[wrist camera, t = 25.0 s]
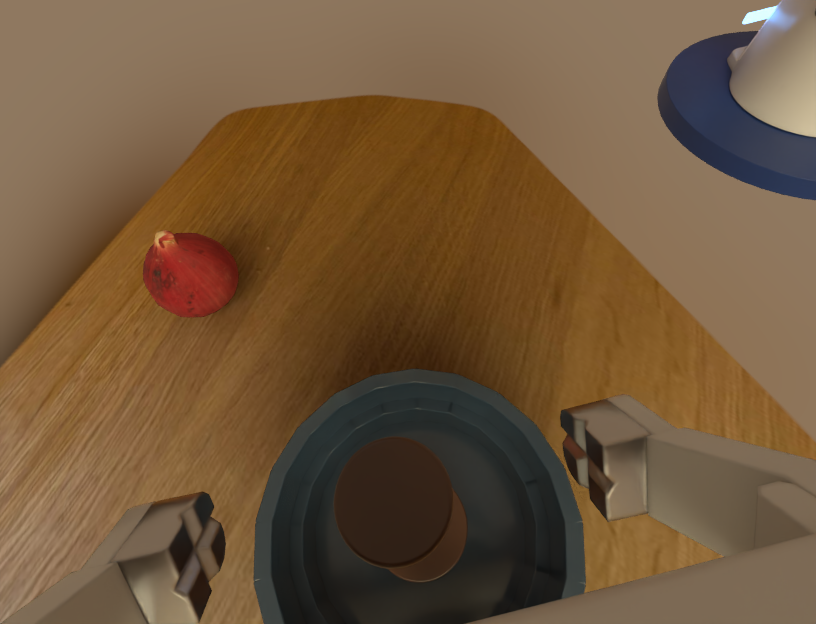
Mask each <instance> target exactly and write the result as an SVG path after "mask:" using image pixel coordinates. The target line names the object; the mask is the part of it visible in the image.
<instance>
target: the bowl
mask: <svg viewBox="0 0 816 624" xmlns="http://www.w3.org/2000/svg"><path fill="white" fill-rule="evenodd" d="M385 437H405V438H409V439H412V440H415V441H417V442H419V443H421V444H423V445H425V446H426V447H428V448H429V449H430V450H431V451H432V452H433V453H434V454H435V455H436V456H437V457H438V458H439V459H440V461H441V462H442V464H443V465H444V467H445V468H446V471H447V473H448V475H449V478H450V481H451V484H452V488H453V489H454V491H455V492H456V493H457V495H458V496H459V498H460V500H461V502H462V504H463V506H464V509H465V512H466V517H467V525H468V532H467V540H466V545H465V548H464V551H463V553H462V555H461V557H460V559H459V561H458V562H457V563H456V565H455V566H454V567H453V568H452V569H451V570H450V571H449V572H448V573H447V574H445V575H444V576H442V577H440V578H438V579H436V580H433V581H430V582H425V583H415V582H409V581H406V580H403V579H401V578H399V577H397V576H396V575H394V574H393V573H392V572H390V571H389V570H388V569H386V568H380V567H377V566H374V565H371V564H369V563H367V562H365V561H363V560H362V559H361V558H359V557H358V556H357V555H356V554H354V553H353V552H352V551H351V549H350V548H349V547H348V546H347V545H346V543H345V541H344V540H343V538H342V536H341V534H340V532H339V530H338V527H337V523H336V519H335V513H334V494H335V489H336V485H337V482H338V479H339V476H340V474H341V472H342V470H343V468H344V466H345V465H346V463H347V462H348V461H349V459H350V458H351V457H352V456H353V455H354V454H355V453H356V452H357V451H358V450H359V449H361V448H362V447H363V446H365V445H367V444H368V443H370V442H372V441H375V440H378V439H381V438H385ZM254 581H255V582H254V587H255V591H256V594H257V598H258V602H259V606H260V610H261V614H262V618H263V622H264V624H466V623H470V622H474V621H477V620H481V619H485V618H489V617H493V616H497V615H501V614H505V613H509V612H513V611H517V610H521V609H525V608H528V607H532V606H536V605H540V604H544V603H548V602H552V601H556V600H560V599H564V598H568V597H572V596H576V595H580V594H583V593H584V591H585V587H586V585H585V584H586V576H585V555H584V534H583V523H582V518H581V515H580V512H579V509H578V506H577V503H576V500H575V497H574V494H573V491H572V488H571V485H570V482H569V479H568V476H567V473H566V470H565V468H564V466H563V464H562V463H561V461H560V460H559V458H558V457H557V455H556V454H555V452H554V451H553V449H552V448H551V446H550V445H549V443H548V442H547V440H546V439H545V437H544V436H543V434H542V433H541V431H540V430H539V428H538V427H537V425H536V424H534V422H533V421H531V420H530V419H529V418H528V417H527V416H526V415H524V414H523V413H522V412H521V411H520V410H519V409H517V408H516V407H515V406H514V405H513V404H511V403H510V402H509V401H508V400H507V399H506V398H504V397H503V396H502V395H501V394H500V393H498V392H496V391H494V390H492V389H490V388H488V387H485V386H483V385H481V384H479V383H476V382H474V381H472V380H470V379H468V378H465V377H463V376H461V375H457V374H454V373H447V372H439V371H432V370H424V369H408V370H402V371H396V372H390V373H384V374H378V375H373V376H370V377H368V378H366V379H364V380H362V381H360V382H358V383H356V384H354V385H352V386H350V387H348V388H346V389H344V390H341V391H339V392H337V393H335V394H334V396H331V397H330V398H329V399H328V400H327V401H326V402H325V403H324V404H323V405H322V406H320V407H319V408H318V409H317V410H316V411H315V412H314V413H313V414H312V415H311V416H309V417H308V418H307V419H306V420H305V421H304V422H303V423H302V424H301V425H300V426H299V427H298V428H297V429H296V431H295V433H294V434H293V436H292V437H291V439H290V441H289V442H288V444H287V445H286V447H285V448H284V450H283V452H282V453H281V455H280V456H279V458H278V460H277V461H276V463H275V464H274V466H273V468H272V470H271V472H270V476H269V479H268V482H267V485H266V489H265V492H264V495H263V499H262V502H261V505H260V508H259V512H258V515H257V518H256V524H255V551H254Z"/></svg>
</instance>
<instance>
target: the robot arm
mask: <svg viewBox="0 0 816 624" xmlns="http://www.w3.org/2000/svg"><path fill="white" fill-rule="evenodd" d="M767 18H768V19H767ZM763 19H767V20H766V22H765V23H764V24H763V26H762V27H761V29H760V30H759V31H758V33H757V34H756V36H755V37H754V38H753V40H752V41H751V42H750V44H749V45H748V46H745V47H741V48H737V49H735V50H733V51H732V53H731V54H730V55H729V57H728V58H727V62H728V65H729V67H730V69H731V70H732V74H731V78H730V82H729V87H730V91H731V94H732V96H733V97H734V99H735V100H736V101H737V103H738V104H739V105H740V106H741V107H742V108H743V109H745V110H746V111H747V112H749V113H750V114H751V115H753V116H754V117H756V118H758V119H759V120H761V121H763V122H765V123H767V124H769V125H772V126H774V127H777V128H779V129H782V130H785V131H788V132H792V133H795V134H799V135H804V136H810V137H816V0H781V1H780V3H779V4H778V6H775V7H771V8H767V9H763V10H759V11H755V12H750V13H748V14H747V16H746V17H745V19H744V20H743V24H747V23H751V22H755V21H759V20H763ZM560 420H561V427H562V428H563V429H564V430H565V431H566V432H567V436H566V438H565V440H564V441H563V451H564V457H565V460H566V463H567V466H568V469H569V470H570V472H571V474H572V476H573V477H574V479H575V480H576V481H577V483H578V484H579V485H581V486H583V487H586V488H588V489H589V493H590V499H591V501H592V502H593V503H594V505H595V506H596V507H597V508H598V510H599V511H600V512H601V513H602V515H603V516H604V517H605V518H606V520H607V521H608V522H610V521H615V520H620V519H624V518H629V517H633V516H638V515H643V514H647V513H648V515H649V516H651V517H652V518H654V519H656V520H658V521H660V522H662V523H663V524H665V525H667V526H669V527H671V528H673V529H674V530H676V531H678V532H680V533H682V534H684V535H685V536H687V537H689V538H691V539H693V540H695V541H696V542H698V543H700V544H702V545H704V546H706V547H707V548H709V549H711V550H713V551H715V552H717V553H718V554H720V555H722V556H724V557H722V558H718V559H714V560H711V561H707V562H703V563H699V564H695V565H691V566H688V567H684V568H680V569H676V570H672V571H669V572H665V573H661V574H657V575H653V576H650V577H646V578H642V579H638V580H634V581H630V582H627V583H623V584H619V585H615V586H611V587H607V588H603V589H599V590H595V591H591V592H587V593H583V594H580V595H576V596H572V597H568V598H564V599H560V600H556V601H552V602H548V603H544V604H540V605H536V606H532V607H528V608H525V609H521V610H517V611H513V612H509V613H505V614H501V615H497V616H493V617H489V618H485V619H481V620H477V621H474V622H470V623H466V624H816V460H812V459H808V458H804V457H800V456H796V455H792V454H788V453H784V452H780V451H776V450H772V449H768V448H764V447H760V446H756V445H752V444H748V443H744V442H740V441H736V440H732V439H728V438H724V437H720V436H716V435H712V434H708V433H704V432H700V431H696V430H692V429H688V428H680V429H677V428H675V427H674V426H672V425H671V424H669V423H668V422H667V421H665V420H664V419H662V418H661V417H659V416H658V415H657V414H655V413H654V412H652V411H651V410H649V409H648V408H647V407H645V406H644V405H642V404H641V403H639V402H638V401H637V400H635V399H634V398H632V397H631V396H629V395H625V394H621V395H617V396H614V397H610V398H606V399H603V400H600V401H596V402H592V403H588V404H584V405H580V406H576V407H572V408H568V409H564V410H561V415H560ZM213 508H214V505H213V503H212V500H211V498H210V496H209V494H207V493H205V492H198V493H194V494H189V495H184V496H179V497H174V498H169V499H165V500H160V501H157V502H150V503H146V504H142V505H138V506H134V507H132V508H130V509H128V510H127V511H126V512H125V514H124V515H123V516H122V518H121V519H120V520H119V521H118V523H117V524H116V525H115V526H114V528H113V529H112V530H111V532H110V533H109V534H108V535H107V537H106V538H105V539H104V540H103V542H102V543H101V544H100V545H99V547H98V548H97V549H96V551H95V552H94V553H93V554H92V556H91V557H90V558H89V559H88V561H87V562H86V563H85V565H84V566H83V567H82V568H81V570H79V571H75V572H71V573H70V574H69V575H67V576H66V577H64V578H63V579H62V580H60V581H59V582H57V583H56V584H55V585H53V586H52V587H50V588H49V589H48V590H46V591H45V592H43V593H42V594H41V595H39V596H38V597H37V598H35V599H34V600H32V601H31V602H30V603H28V604H27V605H25V606H24V607H23V608H21V609H20V610H18V611H17V612H16V613H14V614H13V615H11V616H10V617H9V618H7V619H6V620H4V621H3V622H2V623H0V624H198V623H199V622H200V619H201V617H202V614H203V612H204V609H205V607H206V604H207V602H208V599H209V596H210V594H211V591H212V590H211V588H210V585H209V583H208V582H209V581H210V580H211V579H212V578H213V577H214V576H215V575H216V574H217V573H218V572H219V571H220V568H221V566H222V563H223V560H224V555H225V546H226V542H225V536H224V531H223V528H222V526H221V523H220V522H218V521H217V520H215V519H214V518H212V517H210V516H211V513H212V511H213Z"/></svg>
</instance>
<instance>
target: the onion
mask: <svg viewBox="0 0 816 624" xmlns="http://www.w3.org/2000/svg"><path fill="white" fill-rule="evenodd" d="M238 279H239V274H238V269H237V264H236V262H235V260H234V258H233V256H232V255H231V254H230V253H229V252H228V251H227V250H226V249H225V248H224V247H223V246H222V245H221V244H220V243H219V242H217V241H215V240H213V239H211V238H208V237H206V236H203V235H200V234H197V233H176V234H172V233H171V232H169V231H166V230H162V231H160V232H157V233H156V237H155V239H154V244H153V245H152V246H151V247H150V249H149V251H148V253H147V254H146V259H145V261H144V267H143V280H144V282H145V285H146V287H147V289H148V290H149V292H150V294H151V295H152V297H153V298H154V300H155V301H156V302H157V304H158V305H159V306H161V307H162V308H164V309H166V310H167V311H170V312H172V313H174V314H176V315H178V316H180V317H204V316H207V315H209V314H211V313H214V312H216V311H218V310H219V309H221V308H222V307H223V306H225V305H226V304H227V303H228V302H229V301H230V299H231V298H232V297H233V295H234V294H235V292H236V288H237V285H238Z"/></svg>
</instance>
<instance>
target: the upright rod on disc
mask: <svg viewBox="0 0 816 624" xmlns="http://www.w3.org/2000/svg"><path fill="white" fill-rule="evenodd" d="M334 513H335V519H336V523H337V527H338V530H339V532H340V534H341V536H342V538H343V540H344V541H345V543H346V545H347V546H348V547H349V548H350V549H351V551H352V552H353V553H354V554H356V555H357V556H358V557H359V558H361V559H362V560H363V561H365V562H367V563H369V564H371V565H374V566H377V567H380V568H386V569H388V570H389V571H390V572H392V573H393V574H394V575H396V576H397V577H399V578H401V579H403V580H406V581H409V582H415V583H425V582H430V581H433V580H436V579H438V578H440V577H442V576H444V575H445V574H447V573H448V572H449V571H450V570H451V569H452V568H453V567H454V566H455V565H456V563H457V562H458V561H459V559H460V557H461V555H462V553H463V551H464V548H465V545H466V540H467V532H468V525H467V517H466V512H465V509H464V506H463V504H462V502H461V500H460V498H459V496H458V495H457V493H456V492H455V491H454V489H453V488H452V484H451V481H450V478H449V475H448V473H447V471H446V468H445V467H444V465H443V464H442V462H441V461H440V459H439V458H438V457H437V456H436V455H435V454H434V453H433V452H432V451H431V450H430V449H429V448H428V447H426V446H425V445H423V444H421V443H419V442H417V441H415V440H412V439H409V438H405V437H385V438H381V439H378V440H375V441H372V442H370V443H368V444H367V445H365V446H363V447H362V448H361V449H359V450H358V451H357V452H356V453H355V454H354V455H353V456H352V457H351V458H350V459H349V461H348V462H347V463H346V465H345V466H344V468H343V470H342V472H341V474H340V476H339V479H338V482H337V485H336V489H335V494H334Z"/></svg>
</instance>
